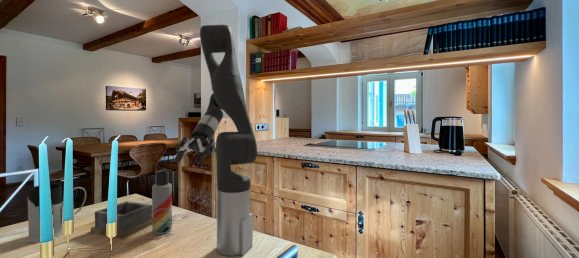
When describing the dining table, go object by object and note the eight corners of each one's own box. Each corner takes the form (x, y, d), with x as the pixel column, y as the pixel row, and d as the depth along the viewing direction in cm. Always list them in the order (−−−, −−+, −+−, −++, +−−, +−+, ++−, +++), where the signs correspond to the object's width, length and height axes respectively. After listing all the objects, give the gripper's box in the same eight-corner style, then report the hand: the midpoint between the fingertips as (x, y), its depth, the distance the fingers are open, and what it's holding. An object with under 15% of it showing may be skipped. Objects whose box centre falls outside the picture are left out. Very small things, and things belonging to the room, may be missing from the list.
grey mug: (28, 234, 82) (26, 186, 81) (86, 223, 91) (85, 179, 90) (24, 245, 75) (23, 193, 75) (87, 231, 84) (86, 185, 84)
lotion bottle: (164, 235, 83) (164, 172, 82) (148, 234, 84) (147, 171, 83) (175, 228, 88) (175, 168, 87) (160, 226, 89) (160, 167, 88)
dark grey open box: (155, 222, 92) (155, 204, 92) (122, 239, 80) (121, 217, 80) (127, 217, 96) (126, 200, 96) (90, 232, 84) (90, 212, 84)
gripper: (186, 122, 106) (165, 154, 96) (217, 123, 102) (198, 156, 91) (195, 134, 111) (175, 166, 101) (225, 135, 107) (208, 169, 97)
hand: (186, 161), depth 96 cm, fingers open, 8 cm apart
